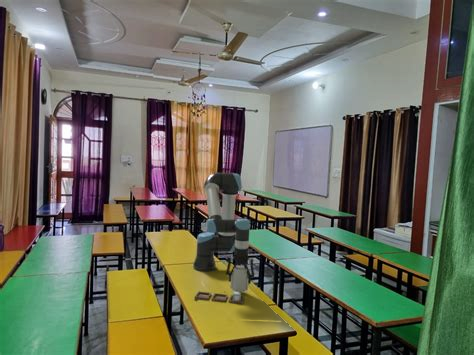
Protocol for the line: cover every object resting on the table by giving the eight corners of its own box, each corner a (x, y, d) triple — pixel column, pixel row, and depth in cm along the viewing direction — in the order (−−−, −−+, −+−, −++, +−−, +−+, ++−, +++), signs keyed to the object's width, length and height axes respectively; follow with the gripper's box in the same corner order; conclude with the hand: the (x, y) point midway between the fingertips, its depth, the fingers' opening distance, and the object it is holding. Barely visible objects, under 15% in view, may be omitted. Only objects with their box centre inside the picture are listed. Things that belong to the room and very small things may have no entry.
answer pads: (201, 287, 193) (201, 287, 193) (247, 292, 189) (247, 291, 189) (198, 292, 185) (198, 292, 185) (245, 298, 181) (245, 297, 181)
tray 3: (230, 298, 181) (230, 295, 181) (244, 299, 180) (244, 296, 180) (228, 303, 174) (228, 300, 173) (242, 305, 173) (242, 302, 172)
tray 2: (214, 296, 182) (214, 293, 182) (227, 297, 181) (227, 294, 181) (211, 301, 175) (211, 298, 175) (225, 303, 174) (225, 300, 174)
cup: (245, 292, 181) (246, 270, 181) (230, 290, 182) (231, 268, 182) (247, 288, 189) (249, 266, 189) (233, 286, 190) (234, 264, 190)
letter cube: (232, 298, 178) (233, 290, 178) (240, 298, 179) (240, 291, 178) (232, 302, 174) (233, 294, 174) (240, 302, 174) (241, 294, 174)
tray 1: (198, 294, 183) (198, 291, 183) (211, 295, 182) (211, 292, 182) (194, 299, 176) (194, 296, 176) (207, 301, 175) (208, 298, 175)
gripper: (221, 247, 182) (219, 288, 184) (260, 251, 179) (257, 293, 181) (223, 244, 190) (221, 283, 191) (261, 247, 187) (259, 287, 188)
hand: (239, 288), depth 186 cm, fingers closed on cup, 8 cm apart
